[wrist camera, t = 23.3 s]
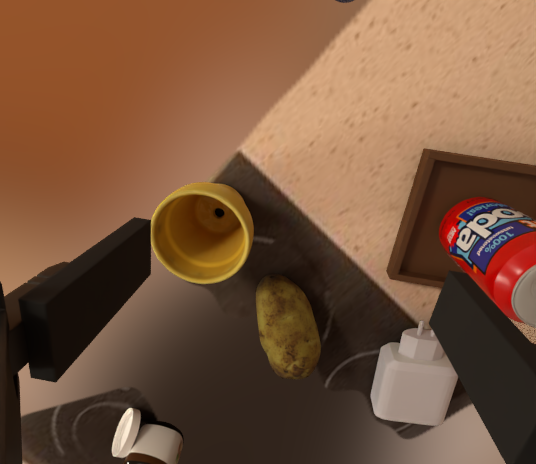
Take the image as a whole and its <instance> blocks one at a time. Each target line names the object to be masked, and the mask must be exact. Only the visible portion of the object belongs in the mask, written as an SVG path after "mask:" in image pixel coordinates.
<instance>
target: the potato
mask: <svg viewBox="0 0 536 464" xmlns="http://www.w3.org/2000/svg"><path fill="white" fill-rule="evenodd" d="M256 307H257V319H258V327H259V336H260V341H261V344H262V347H263V349H264V350H265V352H266V354H267V355H268V359H269V362H270V365H271V367H272V369H273V371H275V372H276V373H277V375H278V376H280V377H281V378H288V379H303V378H305V377H308V376H309V375H310V374H311V373H312V372H313V371H314V369H315V367H316V365H317V364H318V360H319V357H320V351H321V346H320V338H319V333H318V329H317V325H316V322H315V319H314V316H313V312H312V308H311V305H310V303H309V301H308V299H307V297H306V295H305V294H304V292H303V291H302V290H301V289H300V288H299V287H298V286H297V285H296V284H295V283H294V282H292V281H291V280H289V279H288V278H286V277H284V276H282V275H280V274H269V275H266V276H264V278H263V279H262V280H261V281H260V283H259V285H258V286H257V289H256Z"/></svg>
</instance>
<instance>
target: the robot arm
mask: <svg viewBox="0 0 536 464" xmlns="http://www.w3.org/2000/svg"><path fill="white" fill-rule="evenodd" d="M150 274H151V220H147V219H141V218H135V217H134V218H133V219H131V220H130V221H129V222H127V223H126V224H124V225H123V226H121V227H120V228H119V229H117V230H116V231H114V232H113V233H111V234H110V235H108V236H107V237H106V238H105V239H103V240H101V241H100V242H98V243H97V244H96V245H94V246H93V247H92V248H90V249H89V250H87V251H86V252H84V253H83V254H81V255H80V256H79V257H77V258H76V259H74V260H73V261H71V262H70V263H68V262H62V263H59V264H56V265H54V266H51V267H48V268H47V269H45V270H44V271H42V272H41V273H39V274H38V275H37V277H36V276H35V277H33V278H32V279H30V280H29V281H28V282H27V283H24V284H23V285H21V286H20V287H18V288H17V289H15V290H14V291H12V292H11V293H9V294H8V295H6V296H4V294H3V289H2V284H1V282H0V464H22V442H21V414H20V386H19V376H18V372H19V371H20V370H21V369H22V368H23V367H24V366H25V365H26V364H27V363H29V369H30V374H31V378H35V379H41V380H46V381H51V382H57V380H58V379H59V378H60V377H61V376H62V375H63V374H64V373H65V371H66V370H67V369H68V368H69V367H70V366H71V365H72V363H73V362H74V361H75V360H76V359H77V358H78V357H79V355H80V354H81V353H82V352H83V351H84V350H85V348H86V347H87V346H88V345H89V344H90V343H91V342H92V341H93V339H94V338H95V337H96V336H97V335H98V334H99V332H100V331H101V330H102V329H103V328H104V327H105V326H106V324H107V323H108V322H109V321H110V320H111V319H112V318H113V317H114V315H115V314H116V313H117V312H118V311H119V310H120V309H121V307H122V306H123V305H124V304H125V303H126V302H127V301H128V299H129V298H130V297H131V296H132V295H133V294H134V293H135V291H136V290H137V289H138V288H139V287H140V286H141V285H142V283H143V282H144V281H145V280H146V278H148V276H149V275H150ZM429 324H430V326H431V328H432V330H433V332H434V333H435V335H436V337H437V339H438V341H439V343H440V344H441V346H442V348H443V350H444V352H445V353H446V355H447V357H448V359H449V361H450V363H451V364H452V366H453V368H454V370H455V372H456V374H457V375H458V377H459V379H460V381H461V383H462V384H463V386H464V388H465V390H466V392H467V394H468V395H469V397H470V399H471V401H472V403H473V404H474V406H475V408H476V410H477V412H478V414H479V415H480V417H481V419H482V421H483V423H484V424H485V426H486V428H487V430H488V432H489V433H490V435H491V437H492V439H493V441H494V442H495V444H496V446H497V448H498V450H499V452H500V454H501V455H502V457H503V459H504V461H505V463H506V464H536V344H534V343H531V342H530V341H529V340H528V339H527V338H526V337H525V336H524V335H523V333H522V332H521V331H520V330H519V329H518V328H517V327H516V326H515V325H514V324H513V323H512V322H511V320H510V319H509V318H508V317H507V316H506V315H505V314H504V313H503V312H502V311H501V310H500V309H499V307H498V306H497V305H496V304H495V303H494V302H493V301H492V300H491V299H490V298H489V297H488V296H487V294H486V293H485V292H484V291H483V290H482V289H481V288H480V287H479V286H478V285H477V284H476V282H475V281H474V280H473V279H472V278H471V277H470V276H469V275H468V274H467V273H462V272H456V271H450V270H449V272H448V274H447V277H446V280H445V282H444V285H443V287H442V290H441V293H440V295H439V298H438V300H437V303H436V305H435V308H434V311H433V313H432V316H431V318H430V321H429Z"/></svg>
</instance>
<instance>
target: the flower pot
mask: <svg viewBox="0 0 536 464" xmlns="http://www.w3.org/2000/svg"><path fill="white" fill-rule="evenodd" d="M216 208H220V209H222V210H223V211H224V215H223V216H222V217H218V216H217V215H216V214H215V209H216ZM253 235H254V226H253V220H252V217H251V214H250V212H249V210H248V208H247V207H246V205H245V202H244V200H243V198H242V196H241V195H240V194H239V193H238V192H237V191H236V190H235V189H233V188H232V187H230V186H227V185H224V184H214V183H208V182H198V183H192V184H188V185H186V186H183V187H182V188H179V189H178V190H176V191H175V192H173V193H172V194H170V195H169V196H168V197H167V198H165V199H164V200H163V201H162V202H161V203H160V205H159V206H158V207H157V209H156V211H155V212H154V214H153V217H152V220H151V245H152V248H153V250H154V252H155V254H156V256H157V258H158V259H159V261H160V262H161V263H162V264H163V265H164V266H165V267H166V268H167V269H168V270H169V271H170V272H171V273H173V274H174V275H176V276H178V277H180V278H181V279H184V280H186V281H189V282H193V283H199V284H211V283H217V282H221V281H223V280H226V279H228V278H229V277H231V276H233V275H234V274H235V273H236V272H238V271H239V269H240V268H241V267H242V266H243V264H244V263H245V261H246V259H247V257H248V255H249V252H250V249H251V245H252V241H253Z"/></svg>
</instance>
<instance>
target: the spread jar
mask: <svg viewBox="0 0 536 464" xmlns="http://www.w3.org/2000/svg"><path fill="white" fill-rule="evenodd" d="M140 420H141V413H140V411H139V410H137V409H133V408H129V409H128V410H127V411H126V412H125V413H124V415H123V417H122V418H121V420H120V423H119V425H118V427H117V430H116V433H115V436H114V440H113V445H112V454H113V456H114V457H121V458H124V457H125V456H126V455H127V457H126V459H125V461H124V463H123V464H177V463H178V460H179V457H180V454H181V451H182V447H183V435H182V433H181V431H180V430H179V429H177V428H176V427H175V426H173V425H172V424H169V423H166V422H161V421H154V422H148V423H146V424H144V425H143V426H142V428H141V429H140V431H139V433H138V430H139V426H140ZM137 433H138V434H137Z"/></svg>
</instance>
